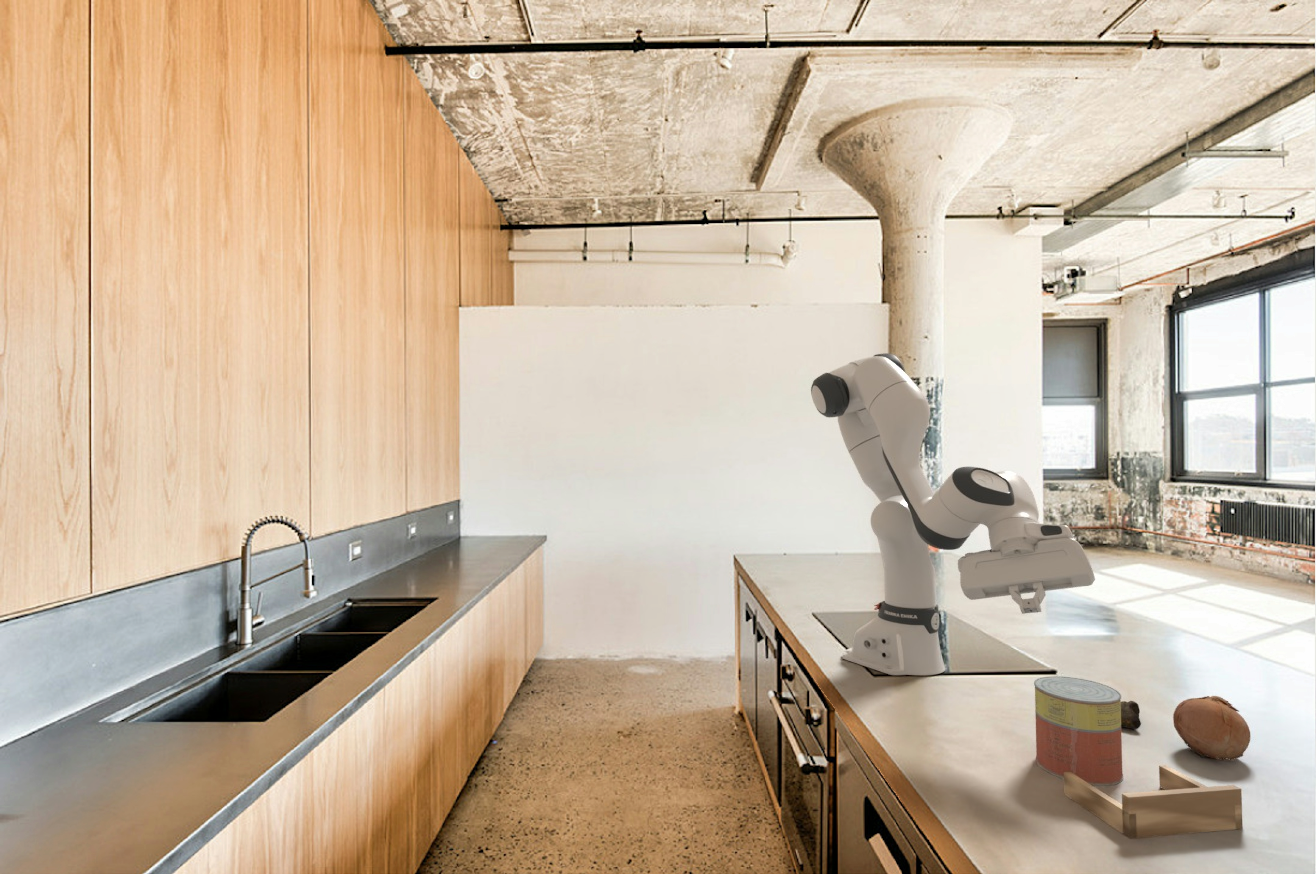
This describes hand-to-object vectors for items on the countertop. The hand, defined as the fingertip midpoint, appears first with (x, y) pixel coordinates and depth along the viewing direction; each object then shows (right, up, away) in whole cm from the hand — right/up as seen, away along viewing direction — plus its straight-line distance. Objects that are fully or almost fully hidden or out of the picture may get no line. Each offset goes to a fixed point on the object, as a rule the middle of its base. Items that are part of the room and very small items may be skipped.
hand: (1030, 610), depth 108 cm
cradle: (+5, -22, -20) cm, 30 cm away
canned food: (+3, -22, -7) cm, 24 cm away
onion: (+27, -22, -3) cm, 35 cm away
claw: (+21, -23, +16) cm, 35 cm away
